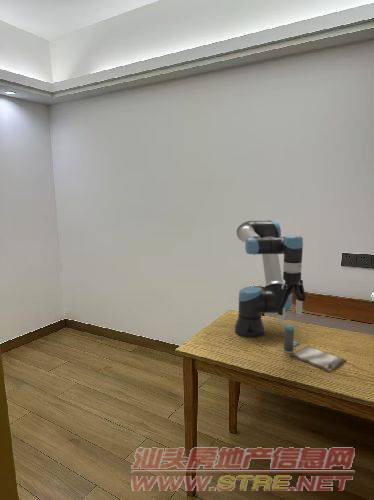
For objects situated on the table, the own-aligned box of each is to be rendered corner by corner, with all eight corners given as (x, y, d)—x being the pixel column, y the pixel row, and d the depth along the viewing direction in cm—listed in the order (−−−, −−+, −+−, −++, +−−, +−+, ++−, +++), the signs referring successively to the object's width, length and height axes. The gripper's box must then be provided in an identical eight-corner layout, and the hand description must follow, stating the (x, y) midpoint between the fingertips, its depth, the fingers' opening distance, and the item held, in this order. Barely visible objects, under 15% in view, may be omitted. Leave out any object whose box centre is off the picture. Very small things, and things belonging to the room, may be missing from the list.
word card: (285, 344, 158) (285, 343, 158) (292, 340, 162) (292, 339, 162) (292, 347, 155) (292, 346, 155) (299, 343, 159) (300, 342, 159)
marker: (282, 351, 151) (283, 325, 149) (287, 348, 154) (288, 323, 152) (289, 354, 148) (290, 328, 146) (294, 351, 151) (296, 326, 149)
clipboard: (290, 356, 147) (290, 352, 147) (307, 346, 156) (307, 343, 155) (329, 372, 133) (330, 368, 133) (346, 361, 142) (346, 357, 142)
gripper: (282, 277, 134) (280, 327, 138) (315, 268, 150) (312, 313, 153) (267, 274, 140) (265, 322, 143) (300, 265, 155) (298, 309, 159)
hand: (290, 317), depth 148 cm, fingers open, 13 cm apart
